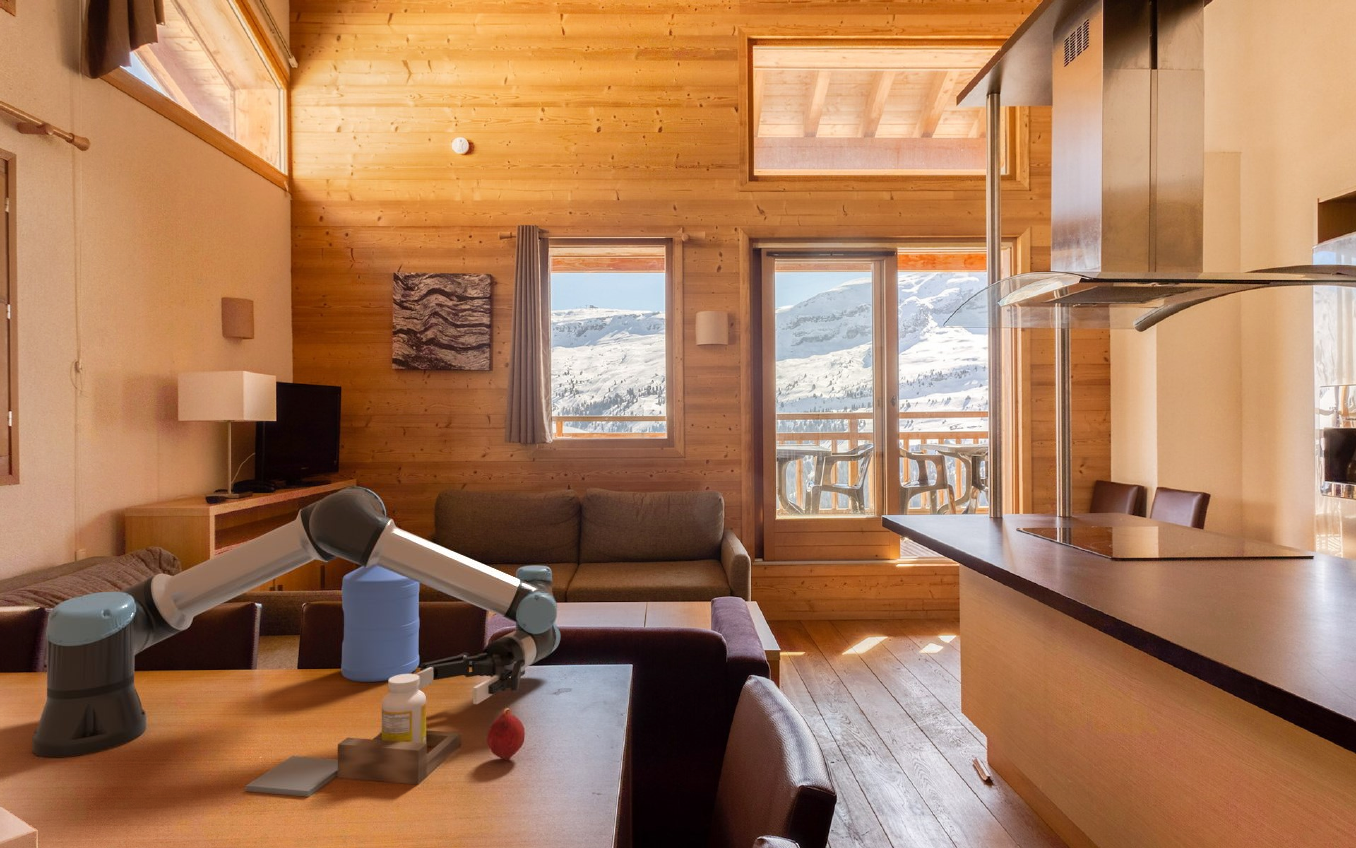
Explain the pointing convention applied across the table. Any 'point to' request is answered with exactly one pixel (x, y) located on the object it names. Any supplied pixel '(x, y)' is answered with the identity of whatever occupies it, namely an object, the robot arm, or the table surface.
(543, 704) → the table surface
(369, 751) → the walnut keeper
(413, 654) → the water jug
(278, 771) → the slate coaster
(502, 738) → the onion
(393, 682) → the supplement bottle
